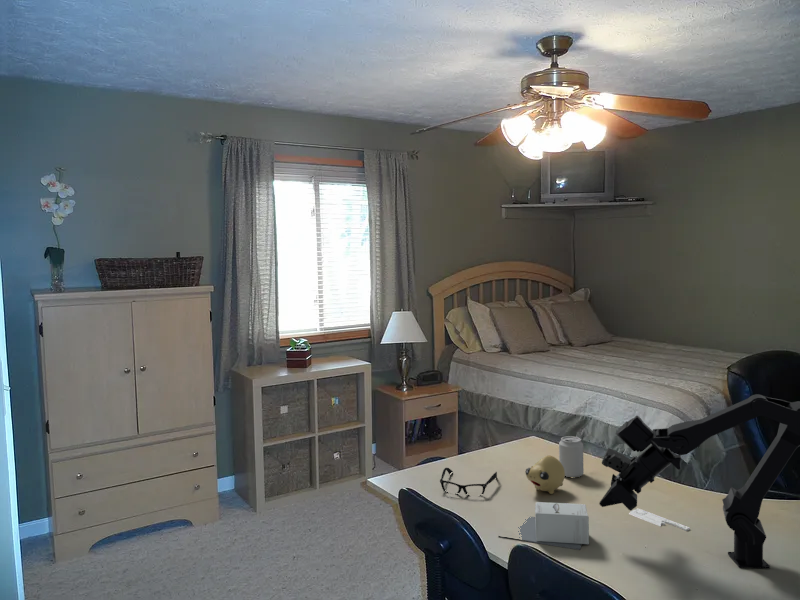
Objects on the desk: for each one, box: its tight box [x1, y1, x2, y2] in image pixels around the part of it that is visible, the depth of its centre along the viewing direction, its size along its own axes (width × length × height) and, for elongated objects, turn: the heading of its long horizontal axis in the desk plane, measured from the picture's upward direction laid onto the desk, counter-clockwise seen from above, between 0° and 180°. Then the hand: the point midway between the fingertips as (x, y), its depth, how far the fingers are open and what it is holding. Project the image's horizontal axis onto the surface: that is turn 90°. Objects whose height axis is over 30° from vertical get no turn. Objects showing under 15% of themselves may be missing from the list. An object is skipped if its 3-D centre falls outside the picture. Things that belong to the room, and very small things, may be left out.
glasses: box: [439, 467, 498, 495], centre depth 187 cm, size 17×18×5 cm
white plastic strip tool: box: [628, 508, 691, 532], centre depth 157 cm, size 5×15×1 cm, turn 32°
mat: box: [518, 516, 583, 551], centre depth 154 cm, size 20×14×1 cm
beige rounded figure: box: [525, 454, 566, 495], centre depth 180 cm, size 10×12×11 cm
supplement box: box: [534, 501, 590, 545], centre depth 150 cm, size 7×7×13 cm
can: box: [558, 435, 585, 478], centre depth 192 cm, size 8×8×12 cm
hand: (600, 504), depth 148 cm, fingers closed
